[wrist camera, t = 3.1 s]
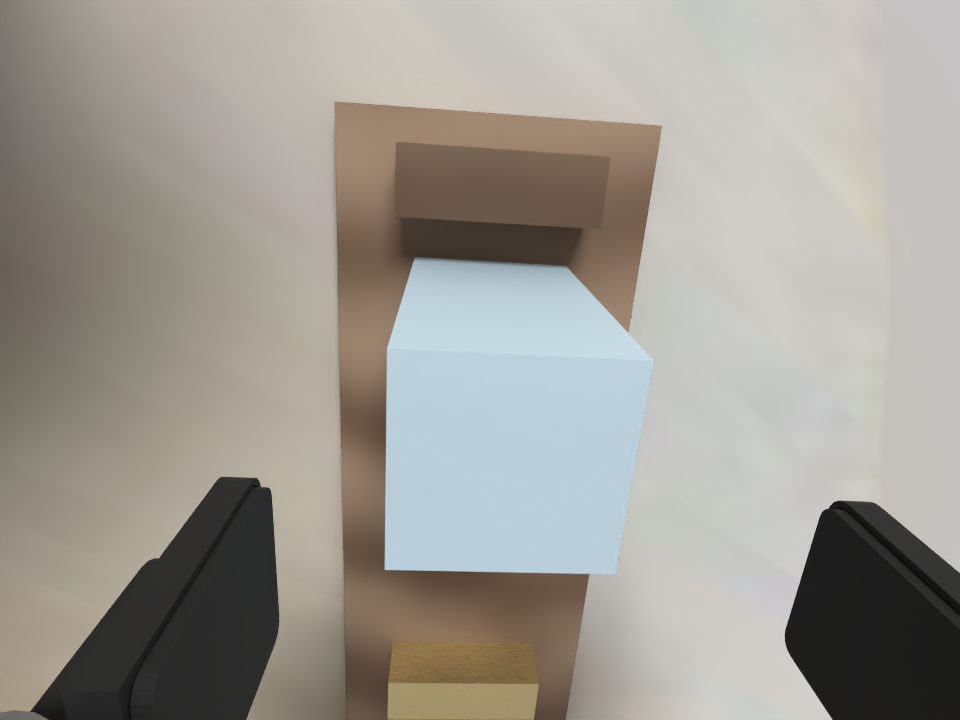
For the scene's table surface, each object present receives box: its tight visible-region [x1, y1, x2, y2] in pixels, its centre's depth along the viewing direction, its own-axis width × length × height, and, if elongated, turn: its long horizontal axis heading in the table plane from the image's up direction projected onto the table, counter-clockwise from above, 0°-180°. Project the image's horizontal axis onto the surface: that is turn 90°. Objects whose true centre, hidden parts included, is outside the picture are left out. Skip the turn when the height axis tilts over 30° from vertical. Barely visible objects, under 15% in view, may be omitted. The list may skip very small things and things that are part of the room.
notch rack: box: [335, 102, 662, 720], centre depth 23 cm, size 34×10×3 cm, turn 176°
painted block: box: [385, 257, 654, 574], centre depth 16 cm, size 5×5×9 cm
